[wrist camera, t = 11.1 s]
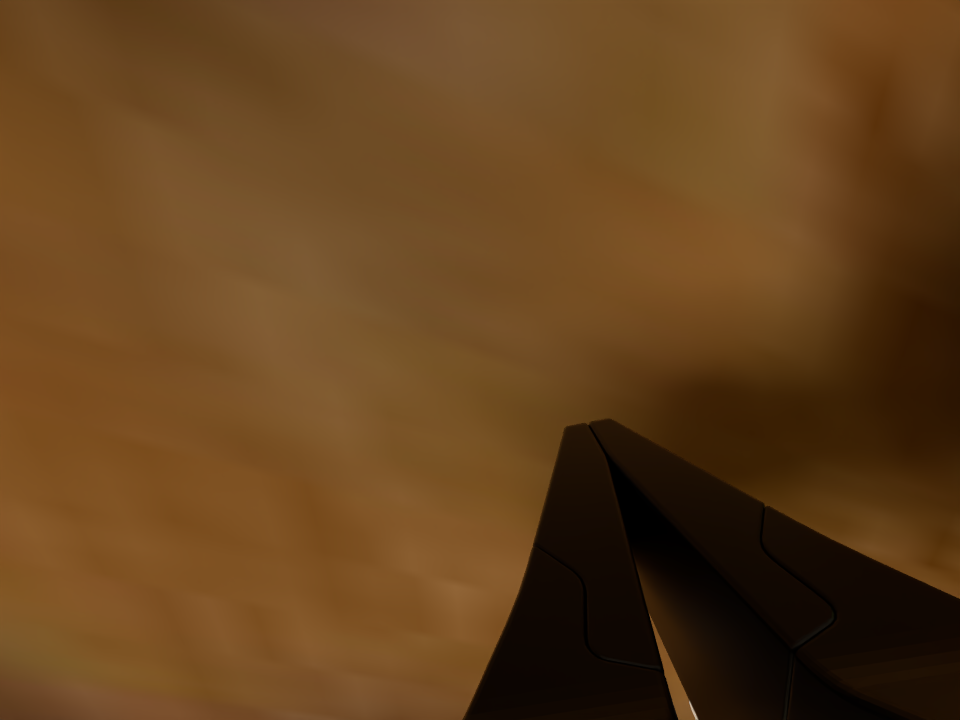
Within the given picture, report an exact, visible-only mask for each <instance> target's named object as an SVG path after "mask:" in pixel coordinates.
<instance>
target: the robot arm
mask: <svg viewBox="0 0 960 720" xmlns="http://www.w3.org/2000/svg"><path fill="white" fill-rule="evenodd" d="M648 611H649V613H648ZM649 614H650V616H651V618H652V620H653V622H654V624H655V627H656V629H657V631H658V633H659V635H660V637H661V640H662V642H663V644H664V646H665V648H666V651H667V653H668V655H669V657H670V659H671V661H672V664H673V666H674V668H675V670H676V672H677V674H678V677H679V679H680V681H681V683H682V685H683V687H684V690H685V692H686V694H687V696H688V698H689V701H690V703H691V705H692V707H693V709H694V711H695V714H696V716H697V718H698V720H960V599H959V598H956V597H954V596H952V595H950V594H948V593H945V592H943V591H941V590H939V589H937V588H935V587H932V586H930V585H928V584H926V583H924V582H922V581H919V580H917V579H915V578H913V577H911V576H908V575H906V574H904V573H902V572H900V571H898V570H895V569H893V568H891V567H889V566H887V565H884V564H882V563H880V562H878V561H876V560H874V559H872V558H869V557H867V556H865V555H863V554H861V553H859V552H857V551H855V550H853V549H851V548H849V547H847V546H844V545H842V544H840V543H838V542H836V541H834V540H832V539H830V538H828V537H826V536H824V535H822V534H820V533H818V532H816V531H815V530H813V529H811V528H809V527H807V526H805V525H803V524H801V523H799V522H797V521H795V520H794V519H792V518H790V517H788V516H786V515H784V514H783V513H781V512H779V511H777V510H775V509H774V508H772V507H770V506H766V507H765V505H764V503H762V502H761V501H759V500H757V499H755V498H753V497H752V496H750V495H748V494H746V493H744V492H743V491H741V490H739V489H737V488H735V487H733V486H732V485H730V484H728V483H726V482H724V481H723V480H721V479H719V478H717V477H715V476H714V475H712V474H710V473H708V472H706V471H705V470H703V469H701V468H699V467H697V466H696V465H694V464H692V463H690V462H688V461H686V460H685V459H683V458H681V457H679V456H677V455H676V454H674V453H672V452H670V451H668V450H667V449H665V448H663V447H661V446H659V445H658V444H656V443H654V442H652V441H650V440H649V439H647V438H645V437H643V436H641V435H639V434H638V433H636V432H634V431H632V430H630V429H629V428H627V427H625V426H623V425H621V424H620V423H618V422H616V421H614V420H612V419H602V420H597V421H592V422H590V423H589V425H587V424H586V423H581V424H576V425H571V426H567V427H565V429H564V432H563V436H562V440H561V444H560V447H559V451H558V455H557V458H556V462H555V466H554V469H553V473H552V477H551V480H550V484H549V488H548V492H547V495H546V499H545V503H544V506H543V510H542V514H541V517H540V521H539V525H538V528H537V532H536V536H535V540H534V543H533V548H532V550H531V553H530V557H529V561H528V564H527V568H526V571H525V574H524V577H523V580H522V583H521V587H520V590H519V593H518V595H517V598H516V600H515V603H514V605H513V608H512V610H511V613H510V615H509V618H508V620H507V622H506V625H505V627H504V629H503V631H502V634H501V636H500V638H499V640H498V643H497V645H496V647H495V649H494V652H493V654H492V656H491V658H490V661H489V663H488V665H487V667H486V670H485V672H484V674H483V676H482V679H481V681H480V683H479V685H478V688H477V690H476V692H475V694H474V696H473V699H472V701H471V703H470V705H469V707H468V709H467V712H466V714H465V716H464V718H463V720H678V717H677V714H676V711H675V708H674V705H673V702H672V698H671V695H670V691H669V688H668V684H667V681H666V678H665V676H664V669H663V665H662V661H661V658H660V654H659V650H658V646H657V643H656V639H655V635H654V631H653V628H652V624H651V620H650V616H649Z"/></svg>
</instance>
